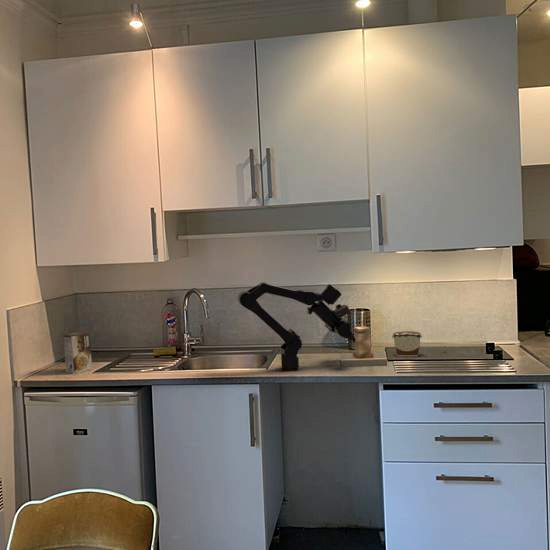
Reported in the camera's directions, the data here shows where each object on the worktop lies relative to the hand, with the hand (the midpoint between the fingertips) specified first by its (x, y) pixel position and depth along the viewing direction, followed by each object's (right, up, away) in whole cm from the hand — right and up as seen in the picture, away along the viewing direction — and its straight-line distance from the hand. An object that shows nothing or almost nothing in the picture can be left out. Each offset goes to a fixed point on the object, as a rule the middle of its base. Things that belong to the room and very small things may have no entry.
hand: (351, 338), depth 249 cm
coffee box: (-115, -15, +10) cm, 116 cm away
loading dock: (+5, -10, +2) cm, 11 cm away
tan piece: (+5, -7, +1) cm, 9 cm away
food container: (+26, -8, +12) cm, 30 cm away
